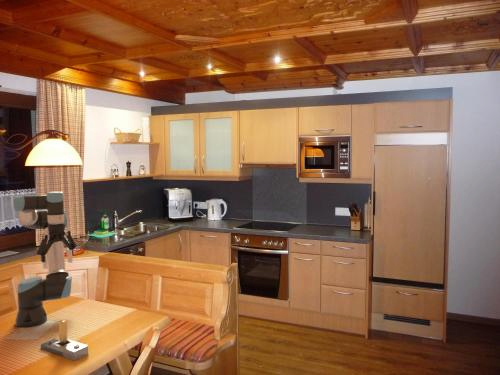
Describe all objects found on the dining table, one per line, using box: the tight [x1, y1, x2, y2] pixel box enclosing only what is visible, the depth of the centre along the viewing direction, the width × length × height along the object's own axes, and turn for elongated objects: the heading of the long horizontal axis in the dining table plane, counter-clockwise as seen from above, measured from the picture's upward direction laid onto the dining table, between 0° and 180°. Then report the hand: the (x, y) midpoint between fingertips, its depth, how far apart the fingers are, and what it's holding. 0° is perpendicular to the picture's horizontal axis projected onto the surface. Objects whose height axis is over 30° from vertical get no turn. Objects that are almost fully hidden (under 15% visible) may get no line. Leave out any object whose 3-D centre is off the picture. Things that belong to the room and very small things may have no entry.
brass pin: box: [58, 319, 69, 346], centre depth 188 cm, size 3×3×14 cm
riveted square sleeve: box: [40, 338, 89, 362], centre depth 189 cm, size 24×7×5 cm, turn 60°
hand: (58, 265), depth 206 cm, fingers open, 13 cm apart
